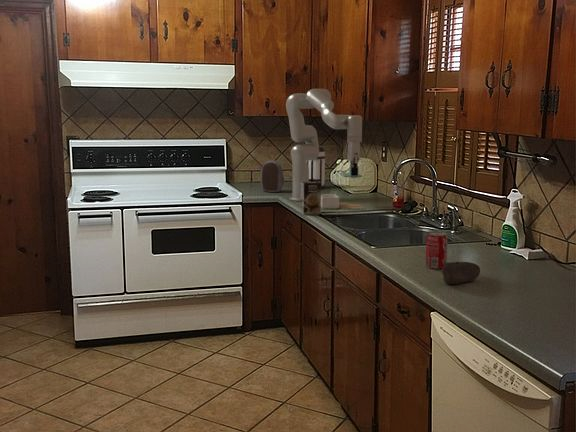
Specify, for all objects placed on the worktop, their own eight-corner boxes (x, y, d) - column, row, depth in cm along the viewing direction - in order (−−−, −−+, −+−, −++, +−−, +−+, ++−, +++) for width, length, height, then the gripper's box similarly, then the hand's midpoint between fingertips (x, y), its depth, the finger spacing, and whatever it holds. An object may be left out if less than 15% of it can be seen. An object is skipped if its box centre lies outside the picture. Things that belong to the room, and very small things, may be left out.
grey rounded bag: (258, 192, 379) (258, 160, 375) (263, 190, 387) (263, 158, 383) (281, 193, 374) (281, 160, 370) (286, 191, 382) (286, 159, 378)
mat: (336, 204, 337) (336, 203, 337) (357, 203, 338) (357, 203, 338) (342, 209, 319) (342, 209, 319) (364, 209, 321) (364, 208, 320)
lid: (339, 174, 332) (340, 163, 331) (357, 174, 333) (357, 163, 331) (345, 177, 317) (345, 166, 315) (363, 177, 317) (363, 166, 316)
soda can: (442, 264, 214) (444, 231, 212) (448, 270, 207) (450, 235, 205) (422, 264, 214) (424, 231, 212) (428, 270, 207) (429, 235, 205)
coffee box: (303, 215, 304) (304, 183, 301) (300, 212, 310) (300, 181, 307) (321, 214, 307) (321, 182, 304) (317, 212, 313) (317, 180, 310)
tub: (318, 205, 334) (319, 194, 332) (335, 204, 334) (335, 194, 333) (322, 208, 322) (322, 197, 321) (339, 208, 323) (339, 197, 322)
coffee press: (298, 187, 401) (298, 141, 395) (319, 185, 408) (319, 140, 402) (311, 190, 386) (311, 143, 380) (332, 189, 393) (333, 142, 387)
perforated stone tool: (474, 277, 198) (475, 257, 197) (485, 282, 194) (486, 261, 192) (435, 282, 193) (437, 261, 191) (446, 287, 188) (447, 265, 187)
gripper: (344, 138, 323) (343, 173, 326) (350, 140, 307) (349, 176, 310) (358, 138, 323) (357, 172, 327) (365, 140, 307) (364, 176, 311)
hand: (353, 174), depth 318 cm, fingers closed on lid, 3 cm apart
